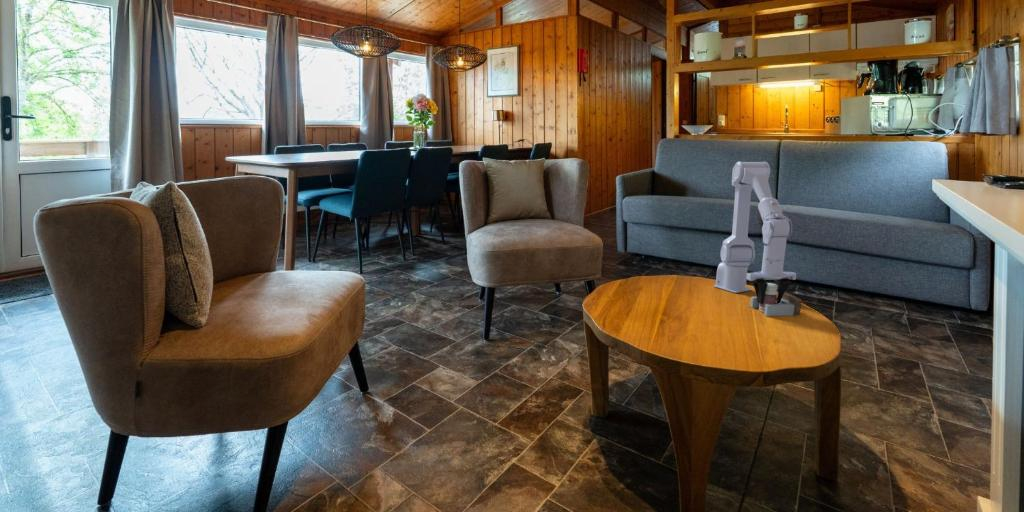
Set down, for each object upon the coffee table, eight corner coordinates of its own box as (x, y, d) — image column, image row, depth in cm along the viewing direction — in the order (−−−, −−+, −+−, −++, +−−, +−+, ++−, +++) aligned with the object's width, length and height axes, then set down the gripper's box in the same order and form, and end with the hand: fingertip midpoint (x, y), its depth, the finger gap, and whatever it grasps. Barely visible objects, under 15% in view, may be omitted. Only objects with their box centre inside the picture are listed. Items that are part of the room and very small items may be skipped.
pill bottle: (778, 314, 159) (781, 287, 158) (761, 313, 160) (764, 286, 158) (773, 309, 164) (776, 282, 162) (757, 308, 165) (759, 282, 163)
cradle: (766, 316, 157) (767, 305, 157) (750, 306, 166) (751, 296, 165) (793, 315, 158) (794, 304, 157) (776, 305, 167) (777, 296, 166)
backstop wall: (794, 316, 158) (796, 299, 157) (776, 306, 166) (778, 291, 165) (799, 315, 158) (801, 299, 157) (781, 306, 167) (783, 291, 166)
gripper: (757, 262, 154) (752, 307, 157) (804, 261, 155) (799, 306, 158) (744, 257, 161) (740, 300, 164) (790, 256, 162) (784, 299, 165)
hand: (768, 302), depth 161 cm, fingers closed on pill bottle, 5 cm apart
